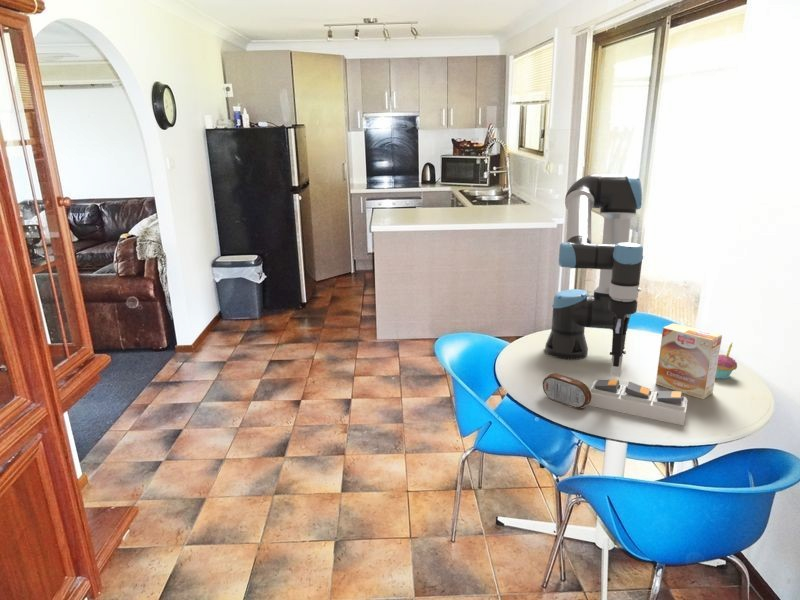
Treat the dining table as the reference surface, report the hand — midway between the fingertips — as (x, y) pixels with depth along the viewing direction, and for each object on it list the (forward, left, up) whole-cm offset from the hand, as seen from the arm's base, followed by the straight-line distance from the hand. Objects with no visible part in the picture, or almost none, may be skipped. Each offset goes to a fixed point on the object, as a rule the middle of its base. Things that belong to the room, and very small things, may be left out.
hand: (615, 375), depth 163 cm
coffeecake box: (+18, +21, -10) cm, 29 cm away
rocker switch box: (+5, 0, -9) cm, 11 cm away
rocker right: (+15, 0, -4) cm, 15 cm away
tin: (-13, -6, -10) cm, 17 cm away
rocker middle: (+6, 0, -4) cm, 7 cm away
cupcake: (+28, +37, -10) cm, 48 cm away
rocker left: (-2, 0, -4) cm, 4 cm away
